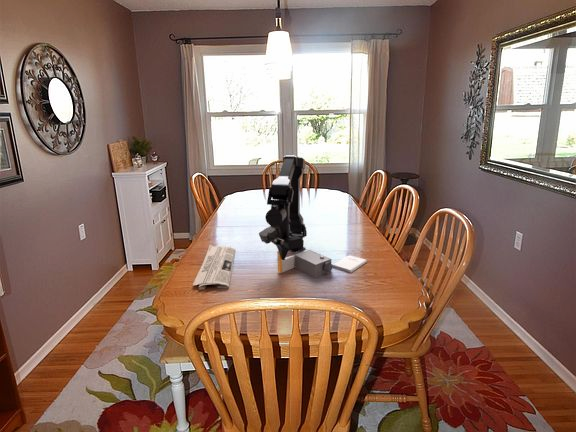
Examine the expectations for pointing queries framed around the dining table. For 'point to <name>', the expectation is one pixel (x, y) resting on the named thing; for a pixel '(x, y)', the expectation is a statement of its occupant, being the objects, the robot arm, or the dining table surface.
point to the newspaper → (216, 267)
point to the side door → (285, 263)
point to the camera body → (313, 263)
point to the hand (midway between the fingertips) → (283, 259)
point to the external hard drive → (349, 263)
